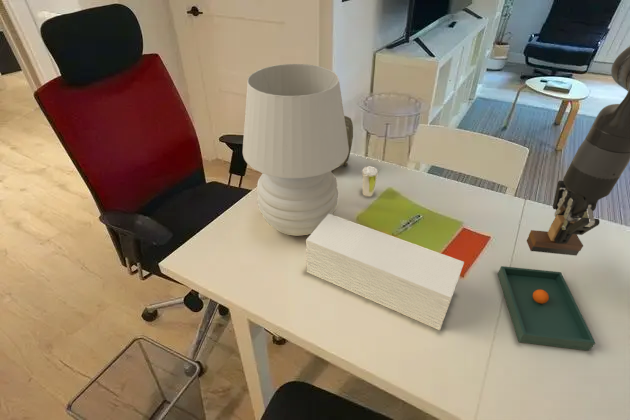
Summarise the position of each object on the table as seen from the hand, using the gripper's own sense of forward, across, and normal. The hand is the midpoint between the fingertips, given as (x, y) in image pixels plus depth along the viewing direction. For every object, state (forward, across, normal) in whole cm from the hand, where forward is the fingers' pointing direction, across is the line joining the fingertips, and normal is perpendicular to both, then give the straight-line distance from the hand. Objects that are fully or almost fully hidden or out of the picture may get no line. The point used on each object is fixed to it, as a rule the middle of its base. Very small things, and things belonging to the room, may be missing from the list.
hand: (557, 236), depth 76 cm
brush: (+3, 0, 0) cm, 3 cm away
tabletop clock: (+16, +42, +52) cm, 69 cm away
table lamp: (+16, +14, +57) cm, 61 cm away
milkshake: (+16, +30, +38) cm, 51 cm away
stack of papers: (+16, -4, +35) cm, 38 cm away
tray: (+15, -6, 0) cm, 17 cm away
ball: (+13, -5, 0) cm, 14 cm away
